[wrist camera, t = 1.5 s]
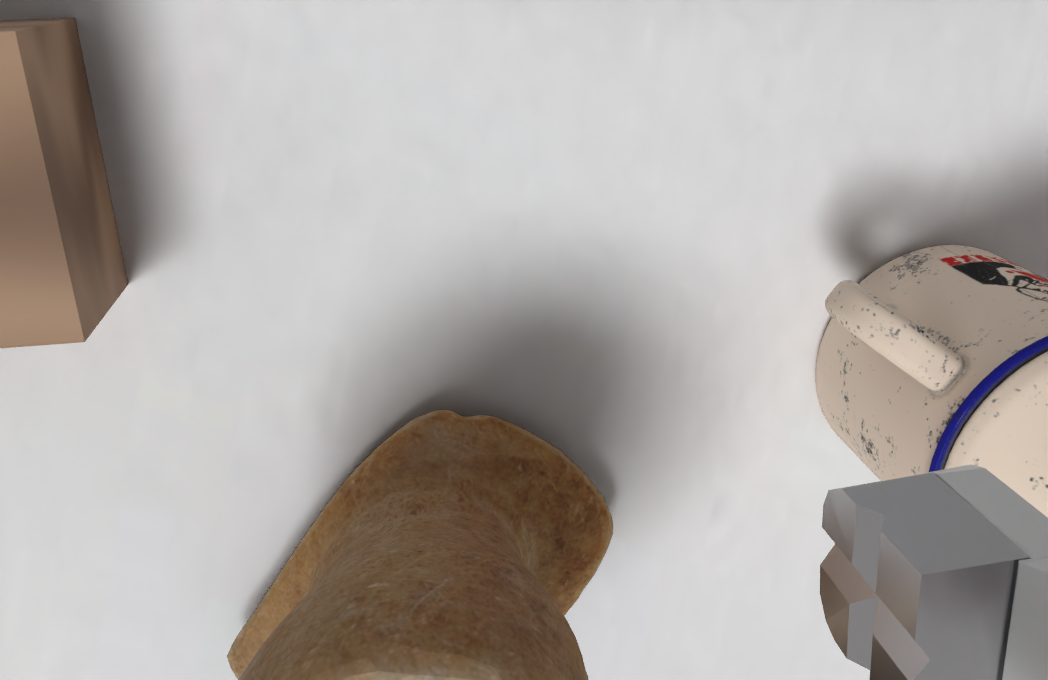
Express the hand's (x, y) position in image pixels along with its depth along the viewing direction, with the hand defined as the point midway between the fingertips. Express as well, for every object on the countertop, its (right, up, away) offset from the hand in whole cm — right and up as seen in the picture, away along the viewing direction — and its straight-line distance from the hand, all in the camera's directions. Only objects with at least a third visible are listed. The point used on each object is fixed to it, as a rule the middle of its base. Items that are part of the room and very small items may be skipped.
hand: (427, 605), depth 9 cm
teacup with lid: (+15, +3, +25) cm, 29 cm away
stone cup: (-4, -6, +26) cm, 27 cm away
